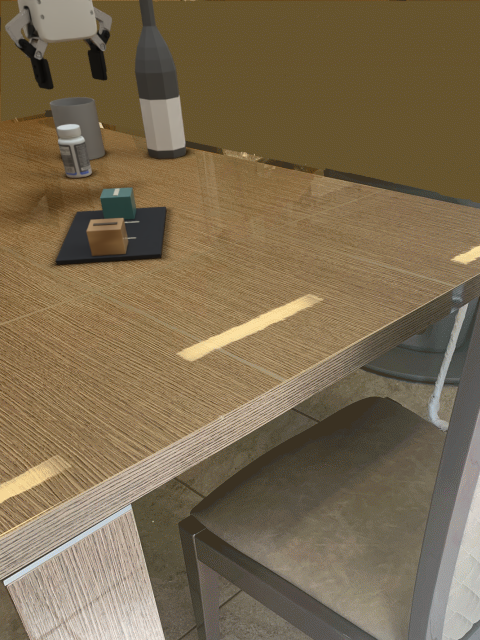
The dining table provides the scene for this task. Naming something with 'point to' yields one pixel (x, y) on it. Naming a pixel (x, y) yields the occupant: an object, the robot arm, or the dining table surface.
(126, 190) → the teal block
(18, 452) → the dining table surface
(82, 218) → the mat
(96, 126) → the cup
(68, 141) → the pill bottle
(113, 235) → the maple block
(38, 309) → the dining table surface
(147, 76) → the wine bottle
